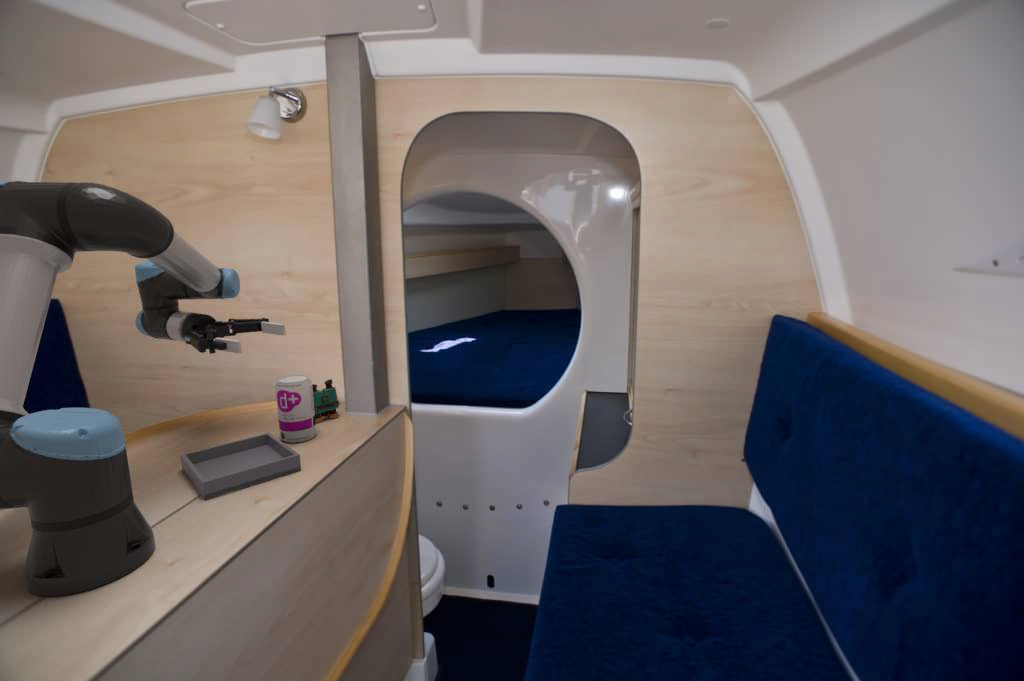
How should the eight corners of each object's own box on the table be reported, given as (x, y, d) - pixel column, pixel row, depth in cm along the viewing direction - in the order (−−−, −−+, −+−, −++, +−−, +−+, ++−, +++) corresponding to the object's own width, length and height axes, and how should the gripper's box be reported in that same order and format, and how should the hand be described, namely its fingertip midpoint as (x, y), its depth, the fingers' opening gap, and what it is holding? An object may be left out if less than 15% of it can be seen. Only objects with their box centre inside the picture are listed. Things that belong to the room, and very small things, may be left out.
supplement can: (304, 445, 121) (298, 384, 119) (273, 442, 123) (267, 382, 120) (323, 432, 129) (318, 375, 126) (294, 430, 131) (288, 373, 128)
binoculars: (322, 376, 146) (340, 379, 139) (327, 412, 147) (344, 416, 140) (291, 382, 139) (308, 385, 132) (296, 420, 141) (313, 425, 134)
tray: (204, 500, 96) (202, 482, 95) (182, 470, 108) (180, 454, 108) (301, 470, 108) (299, 454, 107) (270, 446, 121) (269, 432, 120)
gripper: (236, 328, 138) (301, 337, 132) (148, 359, 116) (221, 371, 109) (232, 301, 136) (298, 309, 130) (141, 327, 113) (215, 338, 107)
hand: (263, 338), depth 119 cm, fingers open, 13 cm apart
